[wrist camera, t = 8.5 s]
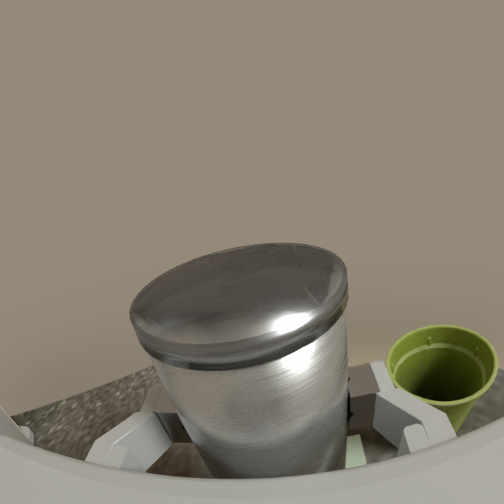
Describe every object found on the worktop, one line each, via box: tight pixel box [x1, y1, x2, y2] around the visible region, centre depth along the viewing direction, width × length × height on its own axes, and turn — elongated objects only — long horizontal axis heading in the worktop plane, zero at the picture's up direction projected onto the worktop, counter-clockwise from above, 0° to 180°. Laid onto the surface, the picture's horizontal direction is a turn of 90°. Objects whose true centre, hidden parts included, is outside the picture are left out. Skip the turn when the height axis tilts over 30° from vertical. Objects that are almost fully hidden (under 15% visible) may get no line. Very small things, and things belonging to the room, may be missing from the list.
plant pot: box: [385, 325, 498, 433], centre depth 20 cm, size 9×9×9 cm
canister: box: [130, 243, 348, 479], centre depth 10 cm, size 6×6×11 cm
